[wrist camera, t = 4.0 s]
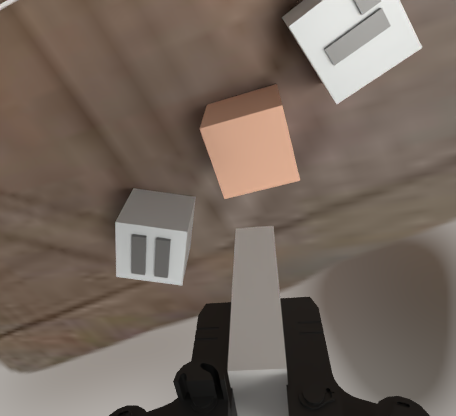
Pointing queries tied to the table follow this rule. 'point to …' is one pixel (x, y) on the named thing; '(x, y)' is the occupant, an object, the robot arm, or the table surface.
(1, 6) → the geometric polyhedron
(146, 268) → the marked cube
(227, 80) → the table surface
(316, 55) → the marked cube
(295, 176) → the plain cube
